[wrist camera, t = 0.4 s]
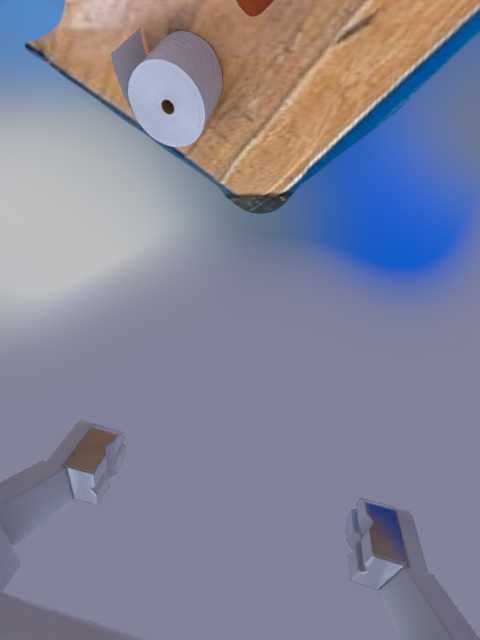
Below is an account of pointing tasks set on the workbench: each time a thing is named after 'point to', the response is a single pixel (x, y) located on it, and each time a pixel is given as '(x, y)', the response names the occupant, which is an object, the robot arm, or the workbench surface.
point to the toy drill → (254, 6)
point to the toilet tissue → (170, 85)
